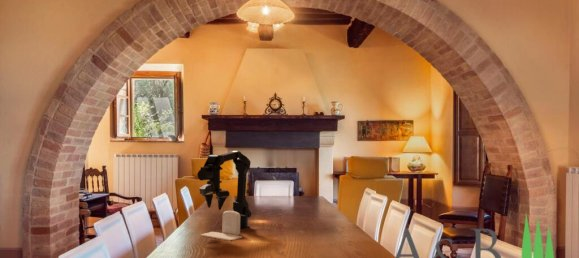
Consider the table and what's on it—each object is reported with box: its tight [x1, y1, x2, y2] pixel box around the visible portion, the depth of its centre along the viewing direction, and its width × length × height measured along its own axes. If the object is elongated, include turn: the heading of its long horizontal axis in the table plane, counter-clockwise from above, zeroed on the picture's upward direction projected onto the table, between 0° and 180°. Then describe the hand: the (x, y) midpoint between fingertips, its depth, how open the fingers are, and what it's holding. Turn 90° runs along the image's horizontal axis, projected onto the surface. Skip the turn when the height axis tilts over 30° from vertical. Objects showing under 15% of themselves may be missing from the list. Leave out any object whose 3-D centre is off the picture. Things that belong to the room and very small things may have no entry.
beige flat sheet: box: [200, 231, 243, 242], centre depth 231 cm, size 9×20×1 cm, turn 58°
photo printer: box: [221, 210, 241, 236], centre depth 238 cm, size 10×4×12 cm, turn 60°
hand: (214, 208), depth 234 cm, fingers open, 9 cm apart
